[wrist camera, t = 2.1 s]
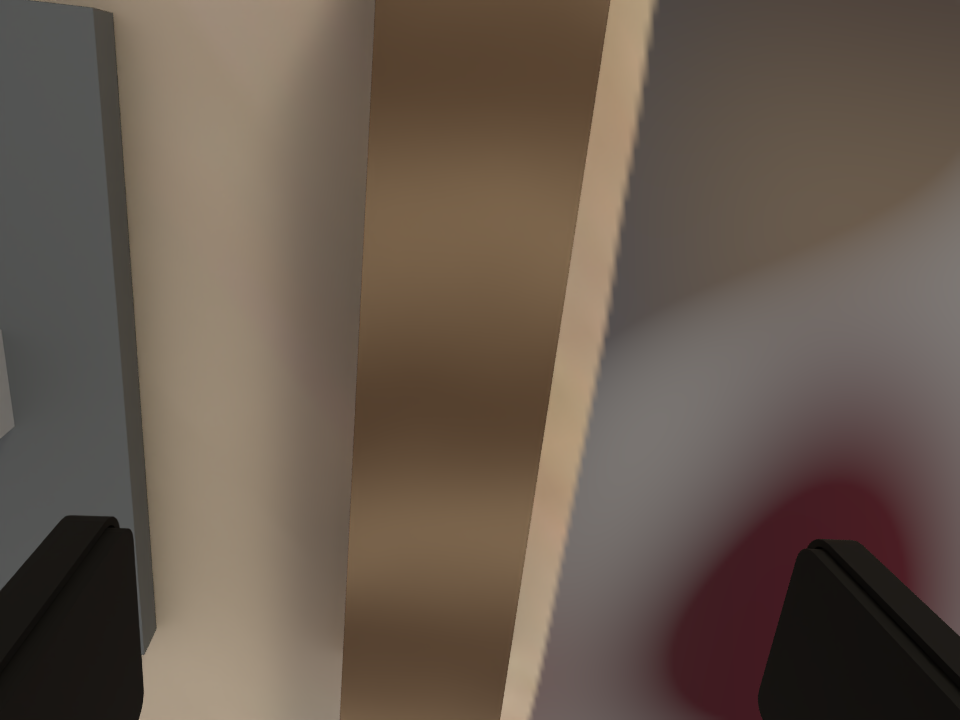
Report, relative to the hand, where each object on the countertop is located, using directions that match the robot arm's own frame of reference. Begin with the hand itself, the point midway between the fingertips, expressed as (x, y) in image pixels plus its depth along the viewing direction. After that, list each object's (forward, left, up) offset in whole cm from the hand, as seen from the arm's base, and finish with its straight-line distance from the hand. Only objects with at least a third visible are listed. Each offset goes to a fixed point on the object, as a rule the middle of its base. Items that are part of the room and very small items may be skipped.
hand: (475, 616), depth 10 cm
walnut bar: (-1, 0, -9) cm, 9 cm away
